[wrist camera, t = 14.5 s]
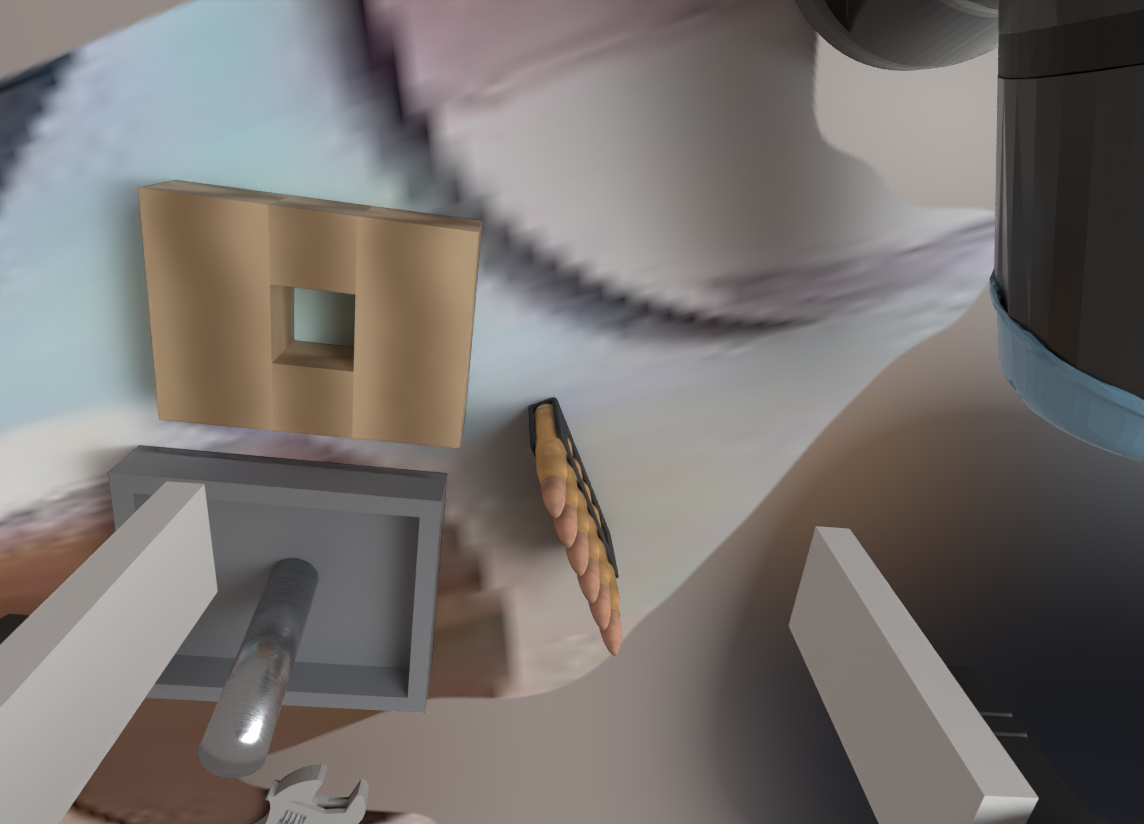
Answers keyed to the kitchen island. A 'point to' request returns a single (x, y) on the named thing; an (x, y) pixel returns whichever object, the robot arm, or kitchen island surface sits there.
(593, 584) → the ammunition clip
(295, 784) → the adjustable wrench
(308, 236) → the tan board with hole
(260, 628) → the pin
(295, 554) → the tray
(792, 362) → the kitchen island surface
